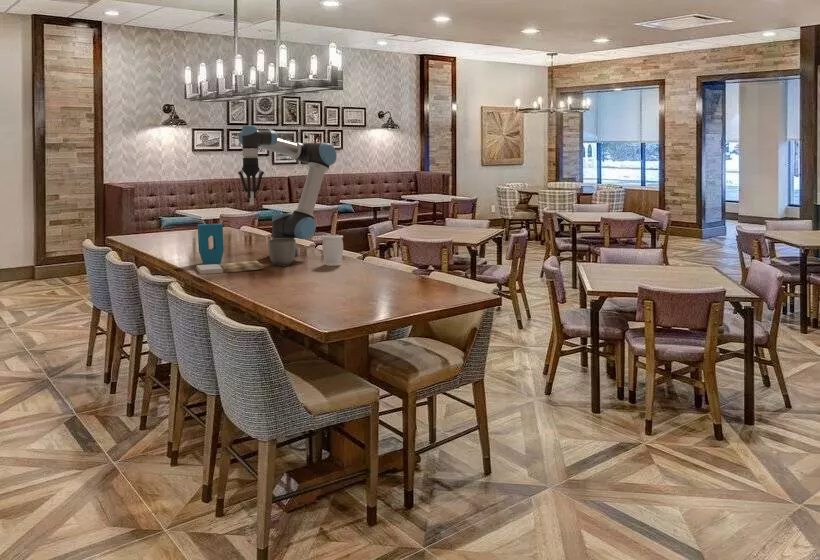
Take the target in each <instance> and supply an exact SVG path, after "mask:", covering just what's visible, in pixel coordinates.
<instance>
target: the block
mask: <svg viewBox="0 0 820 560" xmlns="http://www.w3.org/2000/svg"><path fill="white" fill-rule="evenodd" d="M210 237H212V242H213V244H212V245H213V246H212V248H210V247H209V239H210ZM197 241H198V242H197V243H198V253H199V256H200V258H201V259H200V260H201V262H202V265H211V264H218V265H220V264H222V259H223V255H224V251H225V250H224V249H225V248H224V246H225V245H224V224H222V223H205V224H204V223H202V224H201V223H200V224H197Z"/></svg>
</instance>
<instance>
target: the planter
mask: <svg viewBox="0 0 820 560" xmlns="http://www.w3.org/2000/svg"><path fill="white" fill-rule="evenodd" d="M296 242H297V241H296V238H294V239H290V238H276V239H273V238H270V239H268V240H267V247H268V255H269V259H270V261H271V262H272V263H273V264H274V266H276V267H288V266H290V265H291V263H293V261H294V260H295V257H296V256H295V247H296V248H297V246H296V245H297V244H296Z"/></svg>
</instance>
